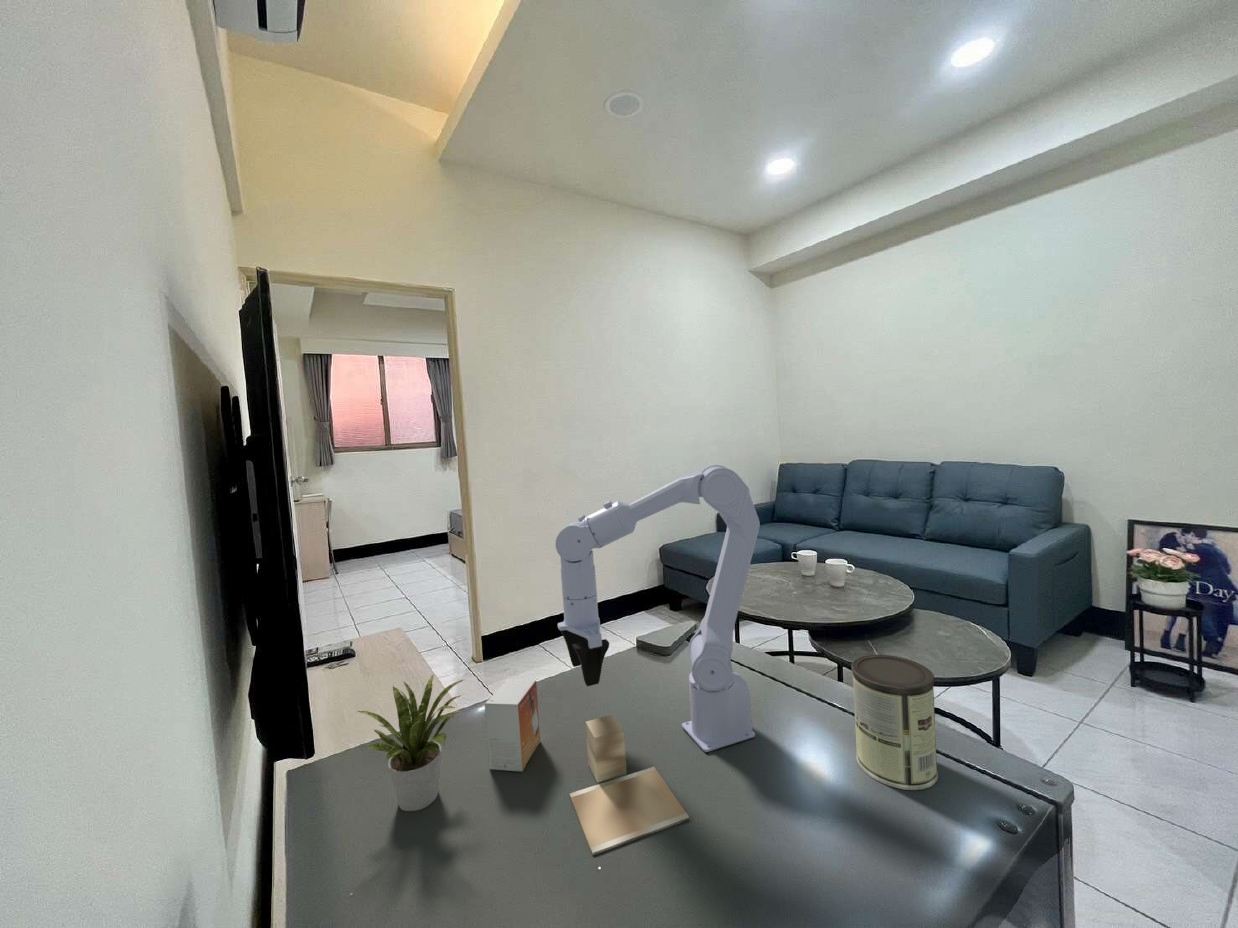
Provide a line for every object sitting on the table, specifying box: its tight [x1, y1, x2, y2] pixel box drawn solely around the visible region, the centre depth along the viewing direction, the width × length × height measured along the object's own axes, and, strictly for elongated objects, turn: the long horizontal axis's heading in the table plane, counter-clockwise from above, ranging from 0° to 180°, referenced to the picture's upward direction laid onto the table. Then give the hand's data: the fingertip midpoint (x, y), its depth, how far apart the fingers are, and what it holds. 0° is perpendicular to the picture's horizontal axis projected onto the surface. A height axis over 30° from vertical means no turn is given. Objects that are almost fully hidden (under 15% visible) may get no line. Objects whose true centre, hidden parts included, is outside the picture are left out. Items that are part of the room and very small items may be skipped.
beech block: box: [585, 714, 628, 785], centre depth 72 cm, size 4×4×7 cm
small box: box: [484, 678, 541, 772], centre depth 77 cm, size 8×6×10 cm
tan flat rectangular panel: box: [569, 766, 690, 856], centre depth 65 cm, size 13×11×1 cm
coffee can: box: [850, 654, 939, 791], centre depth 69 cm, size 10×10×14 cm
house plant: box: [356, 674, 466, 812], centre depth 69 cm, size 14×14×16 cm
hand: (585, 674), depth 82 cm, fingers open, 7 cm apart
